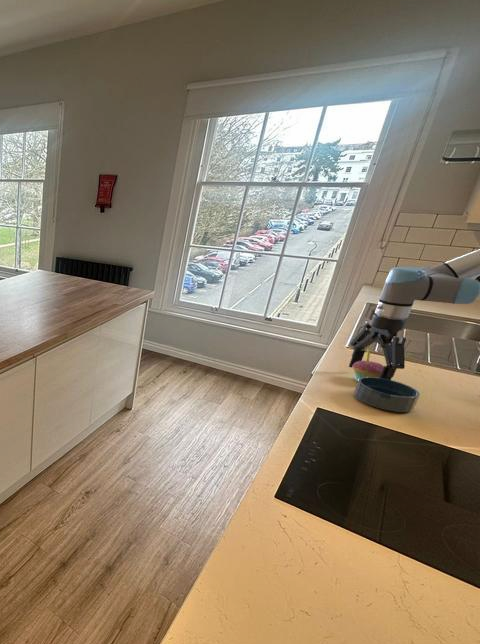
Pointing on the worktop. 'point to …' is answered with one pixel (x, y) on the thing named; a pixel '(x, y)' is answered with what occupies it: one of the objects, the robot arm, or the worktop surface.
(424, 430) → the worktop surface
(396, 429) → the worktop surface
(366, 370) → the cupcake
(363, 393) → the bowl
